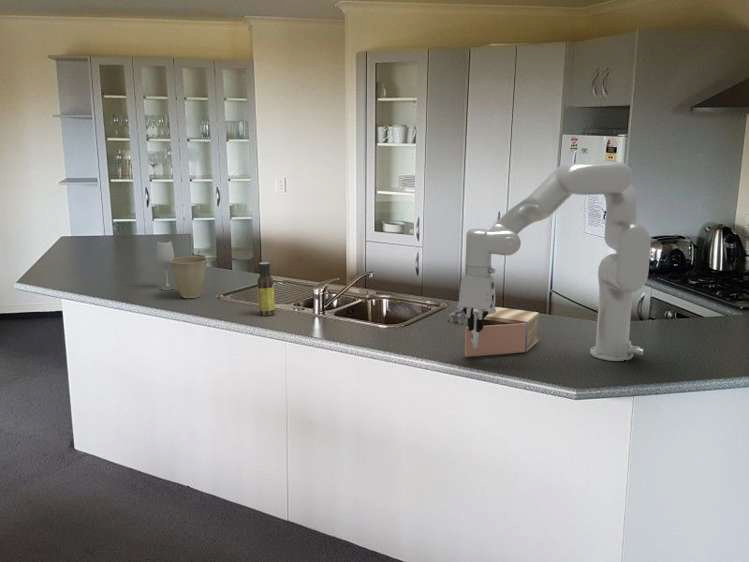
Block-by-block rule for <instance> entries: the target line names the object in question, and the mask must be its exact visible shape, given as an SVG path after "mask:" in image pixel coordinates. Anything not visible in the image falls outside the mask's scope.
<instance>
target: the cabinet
mask: <svg viewBox="0 0 749 562" xmlns="http://www.w3.org/2000/svg"><path fill="white" fill-rule="evenodd" d="M495 309H496V312H495V313H493V314H489V315H487V316H486V317H485V318H484V326H490V325H505V324H520V323H528V337H527V352H528V351H529V350H530V349H532V347H534V346H535V345H536V344H537V343H538V340H539V339H538V338H539V318H540V317H539V316H540V312H538V311H537V312H536V311H529V310H523V309H514V308H507V307H500V306H495ZM489 310H490V309H489ZM486 311H487V310H486ZM474 312H479V309H474ZM466 324H467V326H466V327H468V318H467V322H466Z"/></svg>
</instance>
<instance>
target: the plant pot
mask: <svg viewBox="0 0 749 562" xmlns="http://www.w3.org/2000/svg"><path fill="white" fill-rule="evenodd" d="M170 263H171V265H170V266H171V270H172V271H171V273H172V276H173V279H174V282H175V284H176V289H177V290H178V292H179V294H180V295H179V296H186V297H190V296H198V295H200V294H202V291H203V287H204V284H205V280H206V274H207V267H208V266H207V265H208V258H207V257H203V256H182V257H181V256H180V257H174V259H172V260H170ZM200 296H201V295H200Z"/></svg>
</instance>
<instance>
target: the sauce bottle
mask: <svg viewBox="0 0 749 562" xmlns="http://www.w3.org/2000/svg"><path fill="white" fill-rule="evenodd" d="M270 267H271V263H270V262H269V261H264V262H263V261H262V262H259V263H258V268H259V276H258V278H257V281H256V282H257V288H256V289H257V301H258V303H257V304H258V310H259V311H258V312H259V316H261V315H263V316H262V317H269V316H273V315H275V314H276V298H275V297H276V296H275V285H274V284H275V282H274V279H273V277H272V275H271V270H270Z"/></svg>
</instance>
